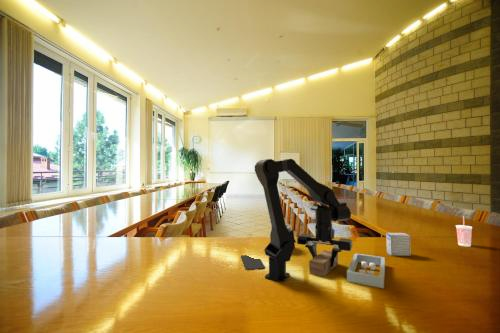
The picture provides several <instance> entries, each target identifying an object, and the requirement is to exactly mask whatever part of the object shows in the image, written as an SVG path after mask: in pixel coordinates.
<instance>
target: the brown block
mask: <svg viewBox="0 0 500 333" xmlns="http://www.w3.org/2000/svg"><path fill="white" fill-rule="evenodd" d="M338 255H339V253H338V254H337V256H336V259H335V262H334V265H333V267H331V257H332V250H325V249H324V250H323V251H321V252H320V253H317V256H315V257H314V258H313V257H312V258H311V259H310V260H308V261H309V262H308V263H309V264H308V265H309V267H308V268H309V269H308V270H309V273H308V274H310V275H314V276H319V277H321V278H324V277H325V276H326V275H327V274H329V273H330V272H331V271H332V270H333V269H334V268H335V267H336V266H338V264H339V256H338Z"/></svg>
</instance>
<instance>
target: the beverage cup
mask: <svg viewBox="0 0 500 333" xmlns="http://www.w3.org/2000/svg"><path fill="white" fill-rule="evenodd" d="M455 228H456V236H457V237H456V238H457V244H458V246H461V247H466V248H467V247H471V246H472V229H473V226H471V225H465V215H463V216H462V224H456V225H455Z"/></svg>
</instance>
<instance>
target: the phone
mask: <svg viewBox="0 0 500 333" xmlns="http://www.w3.org/2000/svg"><path fill="white" fill-rule="evenodd" d="M247 255H248V254H245V255H243V254H242V255H240V259H242V260H241V262H242V264H244V265H243V267H244V268H245V270H246V271H256V270H255V269H258V270H264V268H265V269H266V266H265V264H264V263H263V261H262V260H261V258H260V259H254V258H251V257H249V256H247Z"/></svg>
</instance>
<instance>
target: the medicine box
mask: <svg viewBox="0 0 500 333" xmlns="http://www.w3.org/2000/svg"><path fill="white" fill-rule="evenodd" d="M385 243H386V253H387V254H388V255H389V256H393V257H394V256H395V257H397V256H398V257H400V256H401V257H411V255H412V253H411V252H412V251H411V247H412V246H411V235H409V234H407V233H405V232H386V240H385Z"/></svg>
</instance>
